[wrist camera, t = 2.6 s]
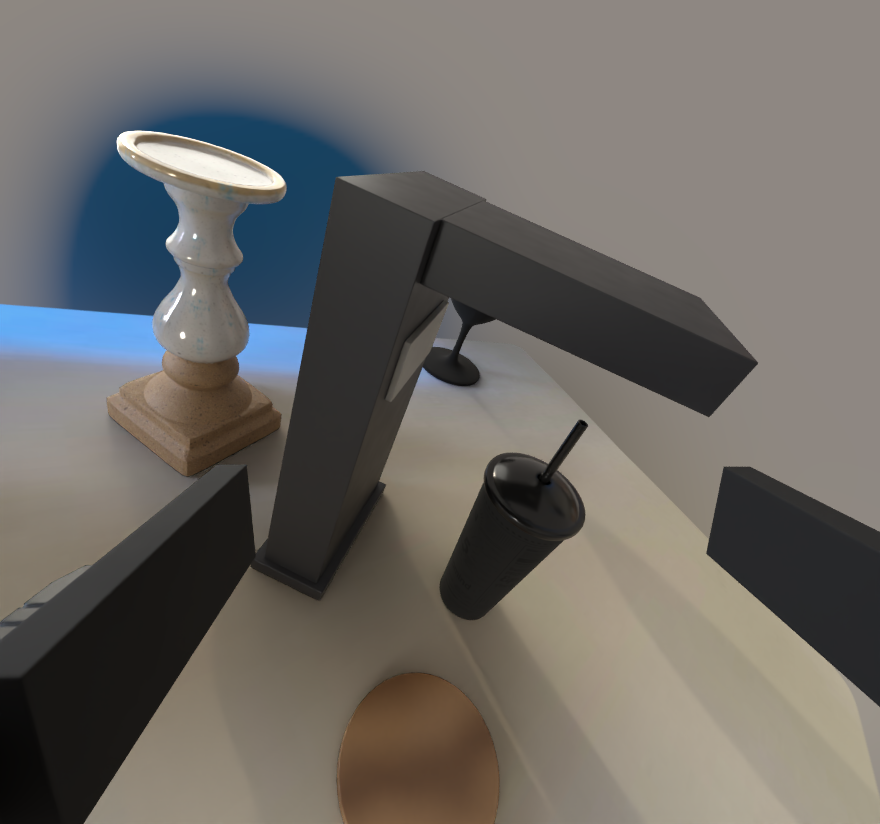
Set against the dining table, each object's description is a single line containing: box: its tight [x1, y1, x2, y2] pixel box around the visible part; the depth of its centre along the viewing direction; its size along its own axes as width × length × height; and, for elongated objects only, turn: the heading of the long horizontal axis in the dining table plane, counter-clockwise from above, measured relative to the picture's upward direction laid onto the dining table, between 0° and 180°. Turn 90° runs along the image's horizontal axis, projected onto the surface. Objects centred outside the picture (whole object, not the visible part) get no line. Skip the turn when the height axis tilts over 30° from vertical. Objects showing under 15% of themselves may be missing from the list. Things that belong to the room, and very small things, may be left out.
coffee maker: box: [251, 171, 758, 601], centre depth 30 cm, size 20×13×28 cm, turn 74°
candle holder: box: [107, 131, 286, 476], centre depth 36 cm, size 11×11×24 cm
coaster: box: [337, 673, 499, 824], centre depth 27 cm, size 10×10×1 cm
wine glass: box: [423, 298, 495, 386], centre depth 64 cm, size 10×10×20 cm
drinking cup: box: [440, 420, 588, 620], centre depth 32 cm, size 8×8×20 cm
